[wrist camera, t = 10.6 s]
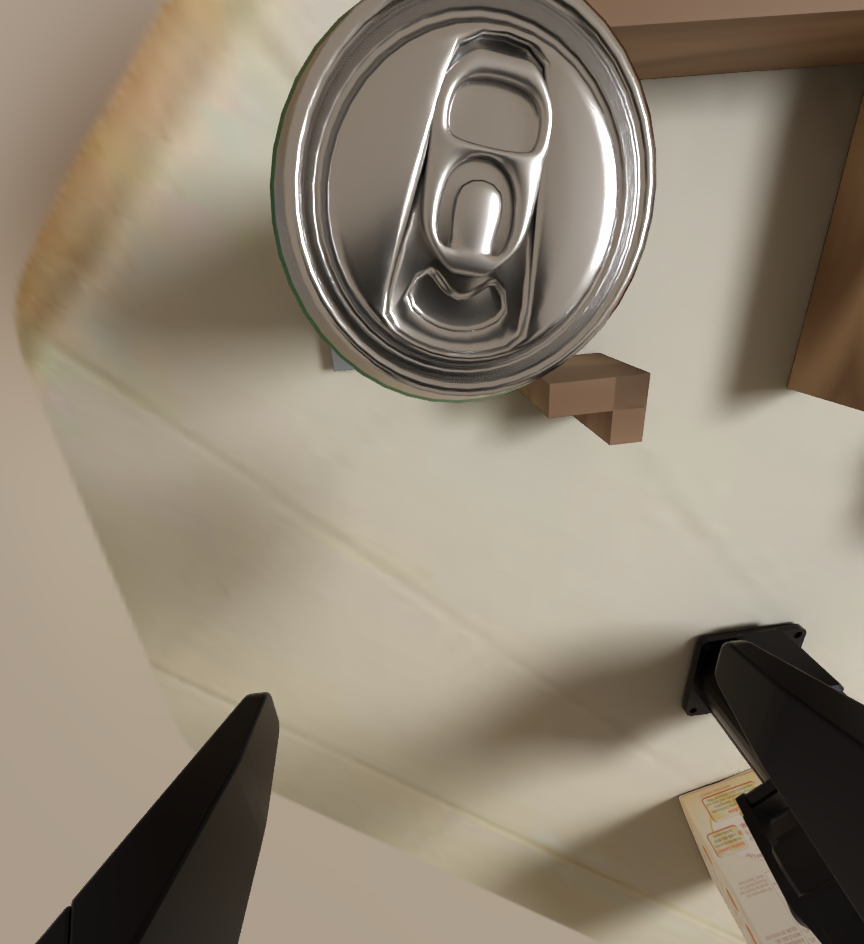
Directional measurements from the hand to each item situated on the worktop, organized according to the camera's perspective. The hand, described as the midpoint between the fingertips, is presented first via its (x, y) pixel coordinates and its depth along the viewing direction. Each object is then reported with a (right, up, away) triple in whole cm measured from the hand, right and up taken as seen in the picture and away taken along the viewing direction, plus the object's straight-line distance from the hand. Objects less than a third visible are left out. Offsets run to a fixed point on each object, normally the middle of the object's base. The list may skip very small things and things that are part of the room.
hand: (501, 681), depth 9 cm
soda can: (-2, +12, +7) cm, 14 cm away
